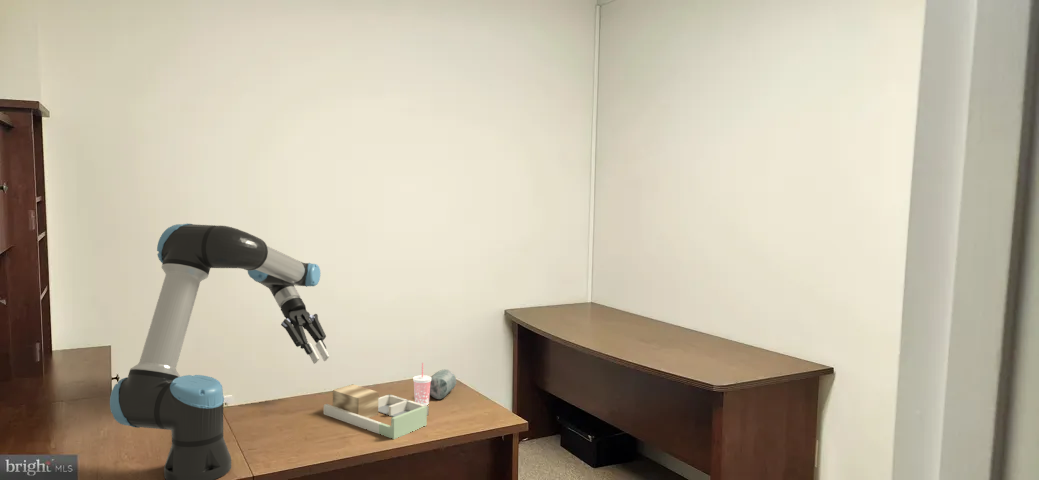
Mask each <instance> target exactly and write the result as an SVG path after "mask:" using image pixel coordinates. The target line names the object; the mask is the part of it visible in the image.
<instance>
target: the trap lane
mask: <svg viewBox="0 0 1039 480" xmlns="http://www.w3.org/2000/svg"><path fill="white" fill-rule="evenodd" d="M379 412H380V414H382V413H383V415H385V414H386V415H385V416H388V415H389V417H391V419H390V421H391V422H390V424H391V425H390V424H387V423H384V422H380V421H377V420H375V419H372V418H367V417H364V416H361V415H358V414H355V413H352V412H349V411H346V410H343V409H340V408H337V407H334V406H333V404H332V405H331V404H329V403H326V404H323V415H325V416H327V417H331V418H334V419H336V420H338V421H342V422H344V423H346V424H350V425H352V426H356V427H359V428H360V429H364V430H366V429H367V430H366V431H369V432H371V433H375V434H378V435H380V434H381V436H383V435H384V437H387V438H389V439H391V438H392V439H391V440H395V439H396V440H397V439H398V437H399V438H402V437H403V436H406V435H408V434H410V432H411V433H413V432H415V430H416V431H418V430H420V429H419V428H421V427H423V426H425V427H427V426H426V425H427V422H428V420H427V419H428V418H427V417H428V416H429V405H428V406H427V405H423V404H420V403H417V402H415V400H414V401H413V400H409V399H407V398H403V397H401V396H400V397H399V396H398V395H397V396H396V395H393V394H390V393H388V394H386V395H383V396H380V397H378V413H379ZM427 415H428V416H427ZM423 428H424V427H423ZM417 429H418V430H417ZM421 429H422V428H421ZM412 431H413V432H412Z"/></svg>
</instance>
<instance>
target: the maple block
mask: <svg viewBox="0 0 1039 480" xmlns="http://www.w3.org/2000/svg"><path fill="white" fill-rule="evenodd" d="M378 398H379V391H376V390H374V389H373V390H372V389H370V388H366V387H363V386H360V385H357V384H348V385H346V386H342V387H339V388H336V389H332V406H334V407H337V408H340V409H343V410H346V411H349V412H352V413H355V414H358V415H361V416H364V417H367V418H369V419H371V418H373V417H376V416H378V415H379V412H378ZM370 417H371V418H370Z"/></svg>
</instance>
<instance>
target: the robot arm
mask: <svg viewBox="0 0 1039 480" xmlns="http://www.w3.org/2000/svg"><path fill="white" fill-rule="evenodd" d="M156 246H157V248H156V251H157V252H158V253H157V254H156V255H157V258H158V260H159V262H160V263H161V270H162V271H163V272H164V274H165V276H164V279H163V283H162V285H161V290H160V293H159V296H158V299H157V302H156V306H155V309H154V312H153V316H152V319H151V323H150V326H149V329H148V333H147V336H146V339H145V342H144V346H143V349H142V353H141V355H140V358H139V362H138V363H137V364H136V365H134V366H133V367H130V369H129V372H128V375H127V377H124V378H120V379H119V380H118V382H117V383H116V384H114V386H113V388H112V390H111V393H110V397H109V409H110V413H111V414H112V417H113V419H114V420H115V421H116V422H117V423H119V424H120V425H123V426H128V427H132V428H137V429H138V428H145V429H156V430H157V429H158V430H169V431H171V447H170V448H169V452H168V455H167V458H166V462H165V465H164V468H163V473H164V479H165V480H217V479H219V478H221V477H223V476H224V475H227V474H228V473H229V472H230V471H231V469H232V457H231V454H230V451H229V449H228V446H227V443H226V441H225V438H224V402H225V397H224V390H223V384H222V383H221V382H220V381H219V380H217V378H214V377H212V376H208V375H202V374H193V375H191V374H188V375H187V374H186V375H180V374H179V372H178V371H177V366H178V362H179V359H180V356H181V352H182V348H183V344H184V341H185V336H186V334H187V331H188V327H189V323H190V320H191V316H192V312H193V308H194V305H195V303H196V299H197V295H198V291H199V288H200V284H201V282H202V281H204V280H206V279H207V278H208V277H209V274H210V271H211V269H240V270H241V269H242V270H245V271H247V274H248V276H249V277H250V278H251V279H252V280H254V282H257V283H259V284H261V285H262V286H264V287H265V288H267V289H269V291H270V292H271V294H272V296H273V298H274V299H275V302H276V304H277V305H278V307H279V308H280V311H281V313H282V315H283V317H284V318H285V319H284V320H283V321H282V322H281V324H280V326H282V327H283V329H285V330H286V332H287V335H289V337H290V339H291V340H292V341H293V343H294V345H295V346H296V347H297V348H298V347H300V349H302V350H303V351H304V352H305V353H306V355H307V356H309V358H310V359H311V362H312V363H313V365H314V364H317V363H318V362H319V360H320V357H319V355H320V356H321V358H322V360H323V361H324V362H326V361H327V360H328V359H329V358H330V355H329V352H328V351H327V346H326V344H325V342H324V340H325V339H326V337H327V335H326V332H325V331H324V329H323V327H322V325H321V322H320V320H319V316H318V313H314V314H310V312H308V311H307V309H306V308H307V307H306V304H305V303H304V302H305V301H304V300H303V299H302V298H301V295H300V293H299V292H298V290H297V288H296V286H297V287H307V288H308V287H315V286H317V285H318V284H319V282H320V279H321V269H320V266H319V265H318V264H317V263H310V262H303V261H300V260H298V259H295V258H293V257H291V256H289V255H287V254H285V253H283V252H280V251H278V250H277V249H274V248H272V247H270V246H269V245H267V243H266V241H264V240H263V239H262V238H259V237H258V236H255V235H253V234H251V233H248V232H246V231H243V230H241V229H238V228H235V227H232V226H227V225H212V224H211V225H210V224H193V223H183V224H182V223H180V224H179V223H178V224H172V225H171V226H169V227H168V228H166V229H165V230H164V231H163V232H162V234H161V235H160V237H159V239H158V242H157V245H156ZM305 331H307V333H308V334H309V335H310V337H311V338H312V340H314V342H315V344H314V346H315V347H316V349H317V351H318V352H319V355H318V354H317V351H316V350H315V348H314V346H313V344H312V342H309V341H308V339H307V336H306V334H305V333H306V332H305Z"/></svg>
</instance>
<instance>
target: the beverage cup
mask: <svg viewBox="0 0 1039 480" xmlns="http://www.w3.org/2000/svg"><path fill="white" fill-rule="evenodd" d="M431 377H432V376H430V375H427V374H426V375H425V374H424V362H421V374H420V375H415V376H413V377H412V380H413V389H414V390H413V393H414V394H413V395H414V402H417V403H420V404H423V405H428V404H430V396H431V395H430V383H431V379H432V378H431ZM428 406H429V405H428Z"/></svg>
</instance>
